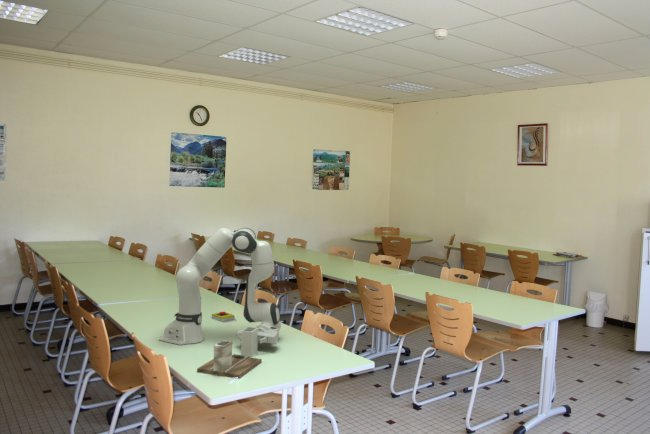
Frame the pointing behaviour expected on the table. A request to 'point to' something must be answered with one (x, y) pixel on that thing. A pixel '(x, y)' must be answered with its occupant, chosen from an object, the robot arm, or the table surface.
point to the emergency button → (223, 317)
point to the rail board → (235, 370)
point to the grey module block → (249, 342)
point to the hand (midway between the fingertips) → (250, 340)
